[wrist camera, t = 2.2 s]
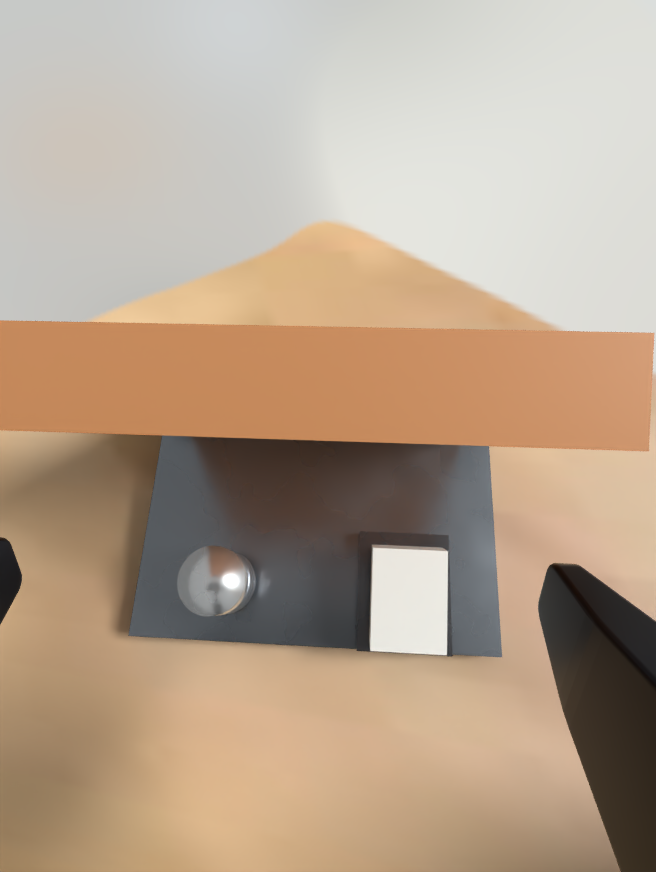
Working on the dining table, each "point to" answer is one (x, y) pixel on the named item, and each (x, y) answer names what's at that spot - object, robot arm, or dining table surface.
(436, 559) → the block
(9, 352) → the orange lever
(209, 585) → the metal button
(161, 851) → the dining table surface
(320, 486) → the panel
